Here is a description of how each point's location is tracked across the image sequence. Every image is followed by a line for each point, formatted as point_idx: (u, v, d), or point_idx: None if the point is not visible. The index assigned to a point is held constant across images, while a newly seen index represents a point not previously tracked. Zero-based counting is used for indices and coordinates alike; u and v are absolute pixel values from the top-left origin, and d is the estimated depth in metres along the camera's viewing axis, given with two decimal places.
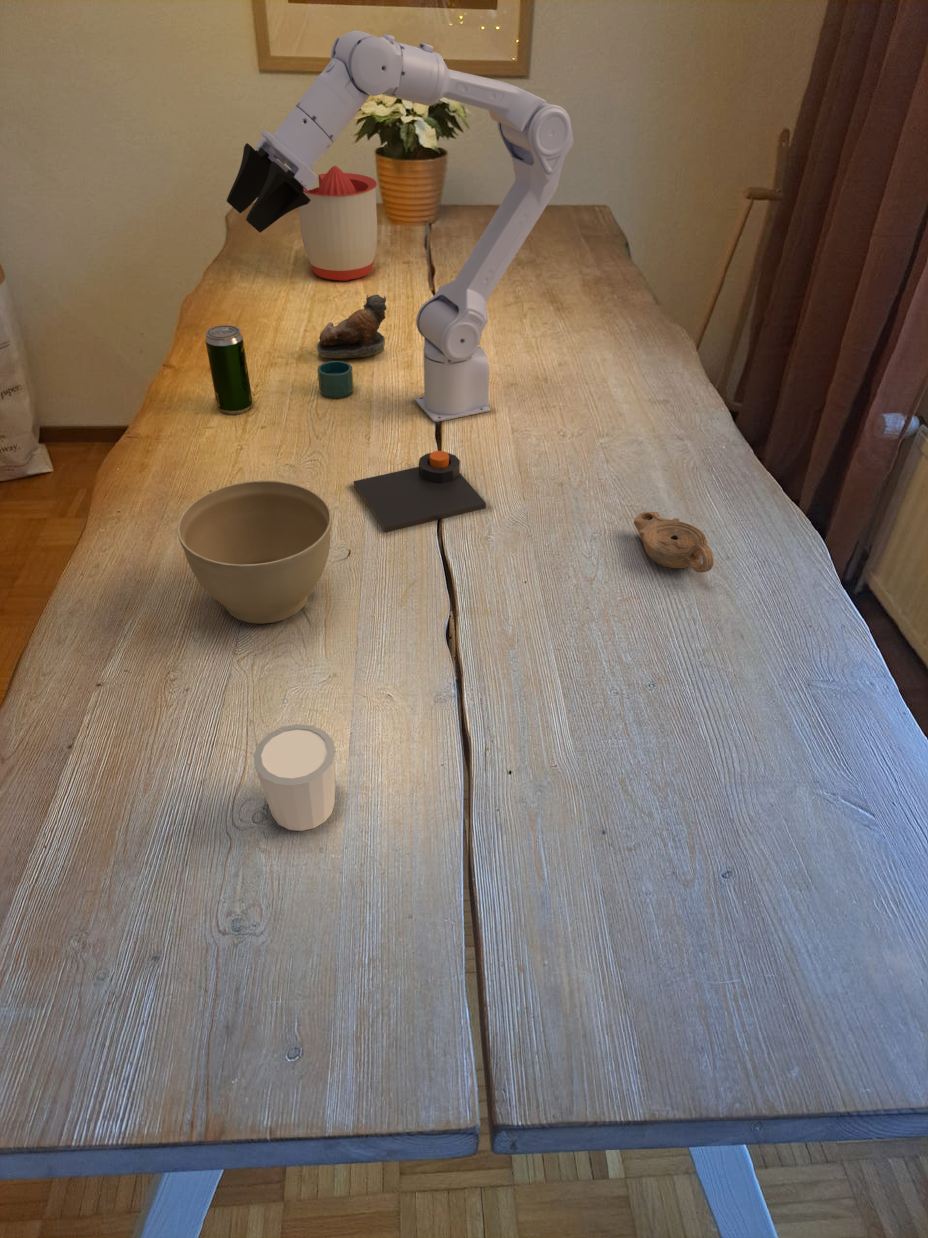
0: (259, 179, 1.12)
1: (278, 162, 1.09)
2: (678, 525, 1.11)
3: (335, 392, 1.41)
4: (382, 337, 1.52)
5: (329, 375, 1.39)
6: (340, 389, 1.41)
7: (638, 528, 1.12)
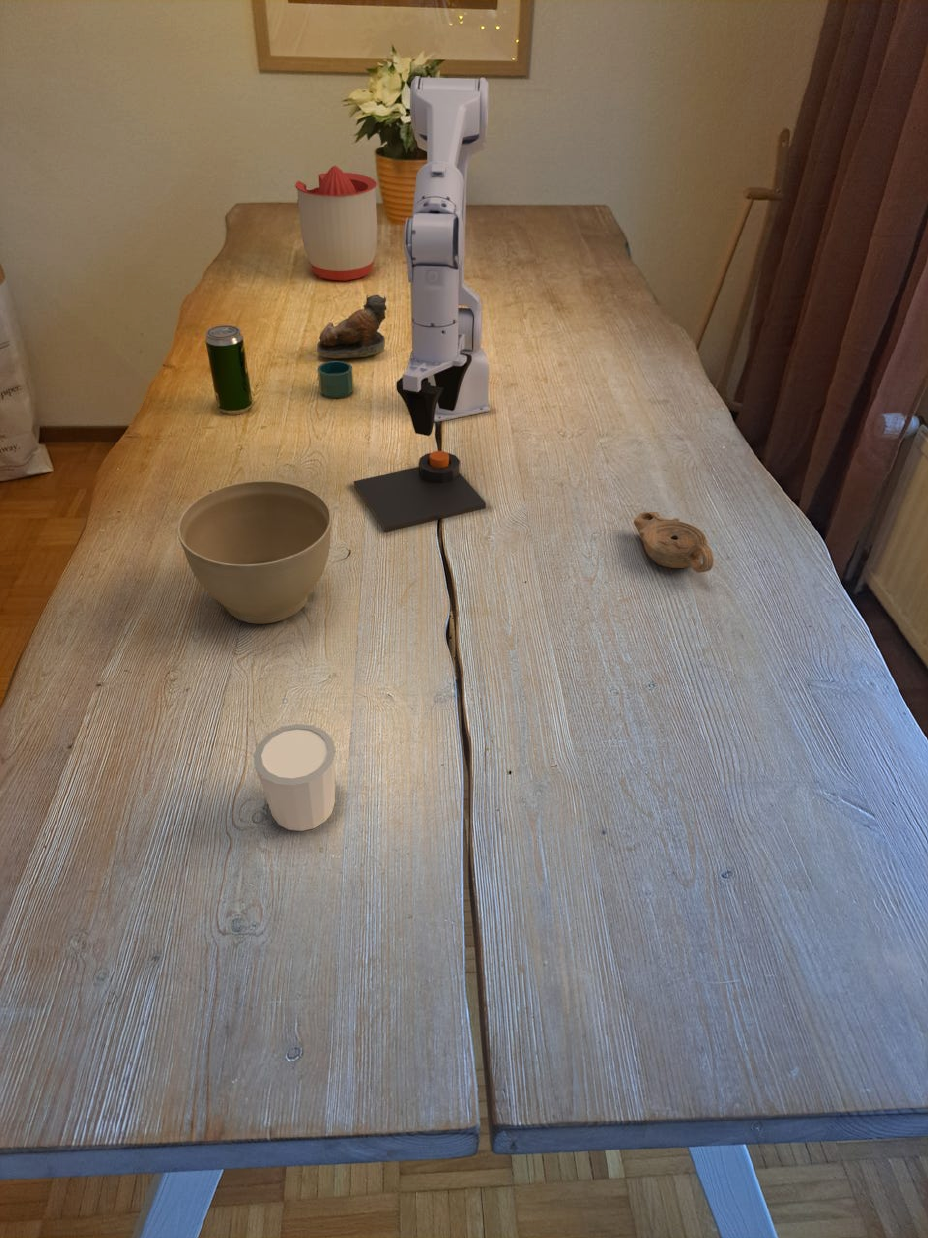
0: None
1: None
2: (678, 525, 1.11)
3: (335, 392, 1.41)
4: (382, 337, 1.52)
5: (329, 375, 1.39)
6: (340, 389, 1.41)
7: (638, 528, 1.12)
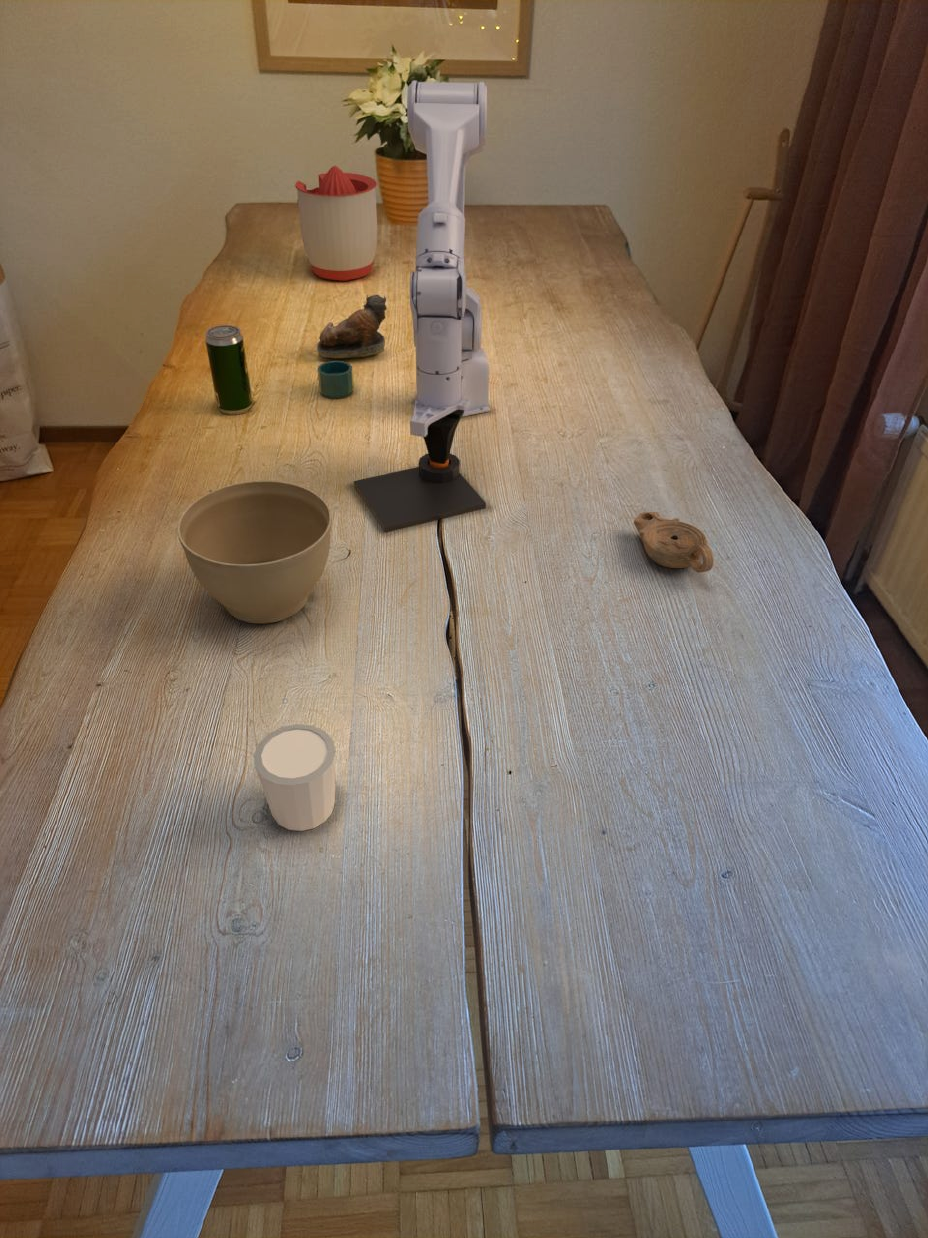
0: None
1: None
2: (678, 525, 1.11)
3: (335, 392, 1.41)
4: (382, 337, 1.52)
5: (329, 375, 1.39)
6: (340, 389, 1.41)
7: (638, 528, 1.12)
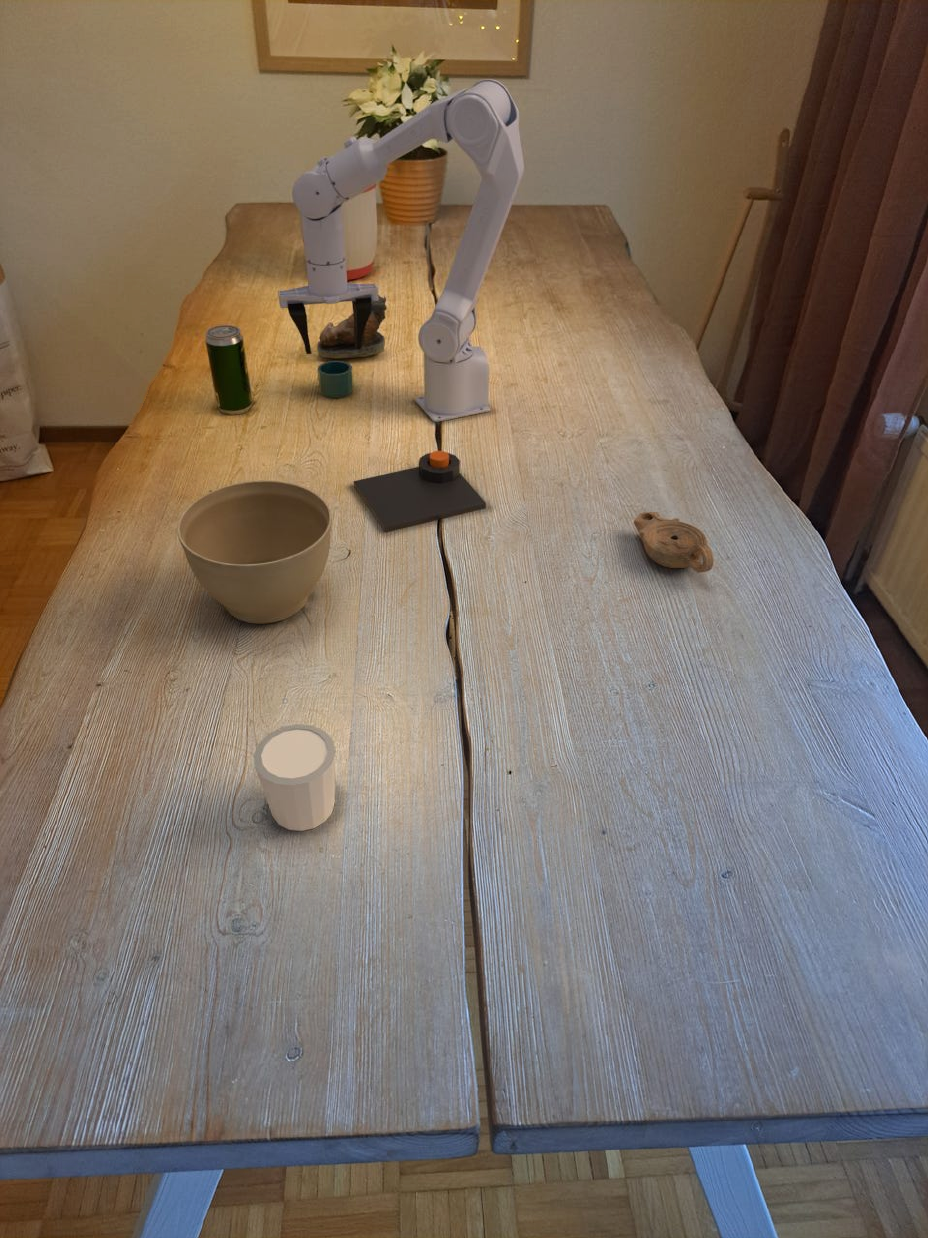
0: None
1: None
2: (678, 525, 1.11)
3: (335, 392, 1.41)
4: (382, 337, 1.52)
5: (329, 375, 1.39)
6: (340, 389, 1.41)
7: (638, 528, 1.12)
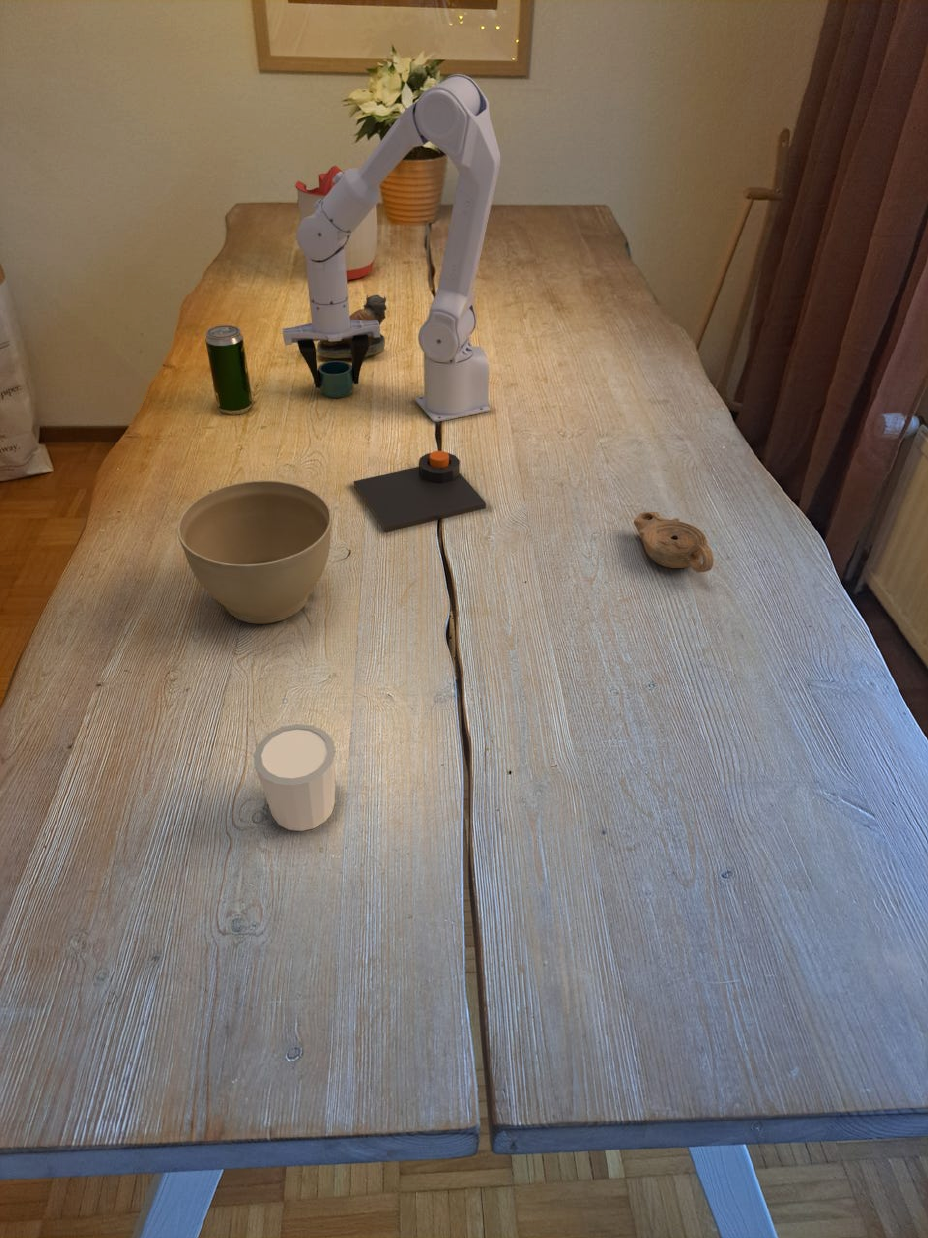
0: None
1: None
2: (678, 525, 1.11)
3: (335, 392, 1.41)
4: (382, 337, 1.52)
5: (329, 375, 1.39)
6: (340, 389, 1.41)
7: (638, 528, 1.12)
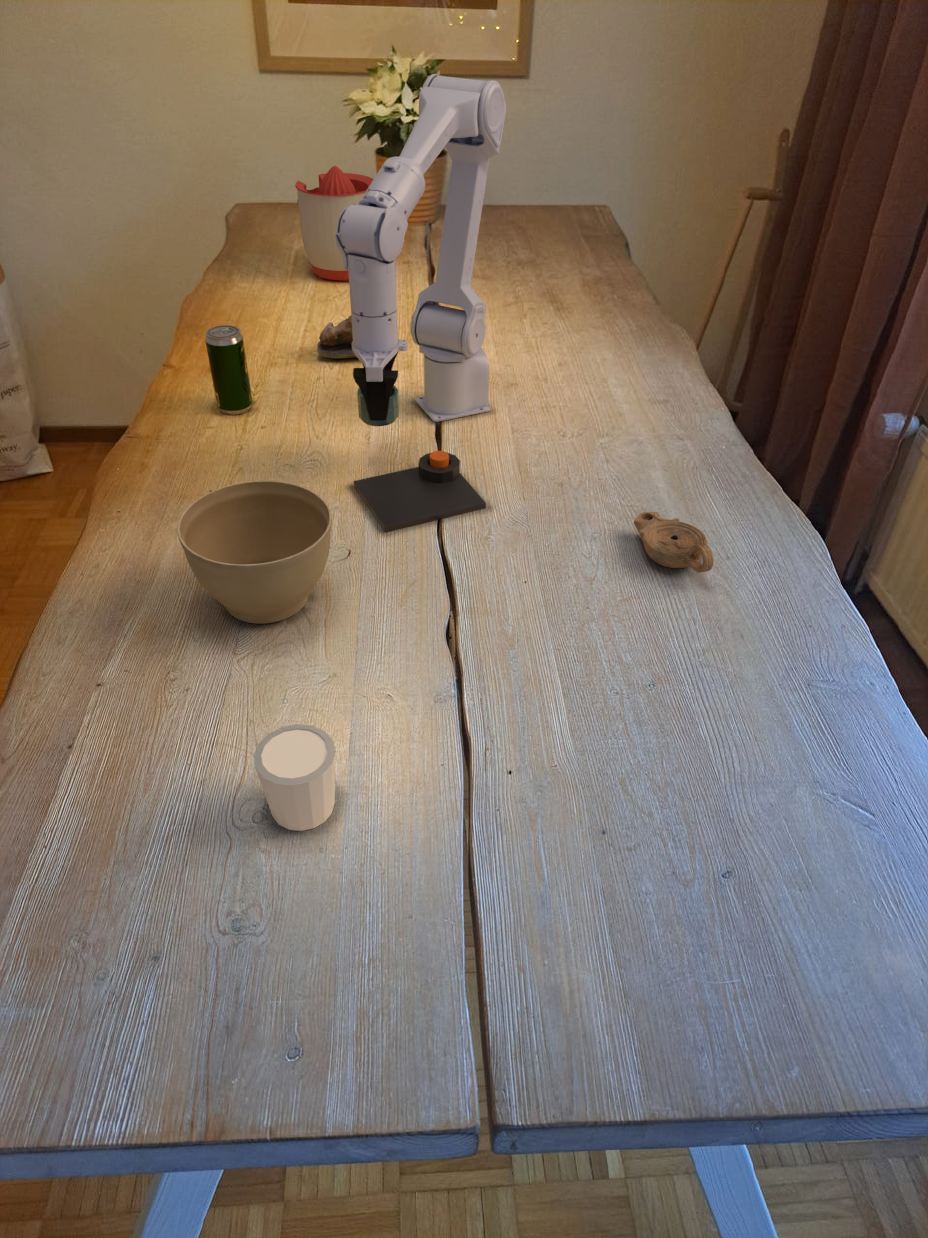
0: None
1: None
2: (678, 525, 1.11)
3: (398, 412, 1.21)
4: None
5: (395, 395, 1.19)
6: None
7: (638, 528, 1.12)
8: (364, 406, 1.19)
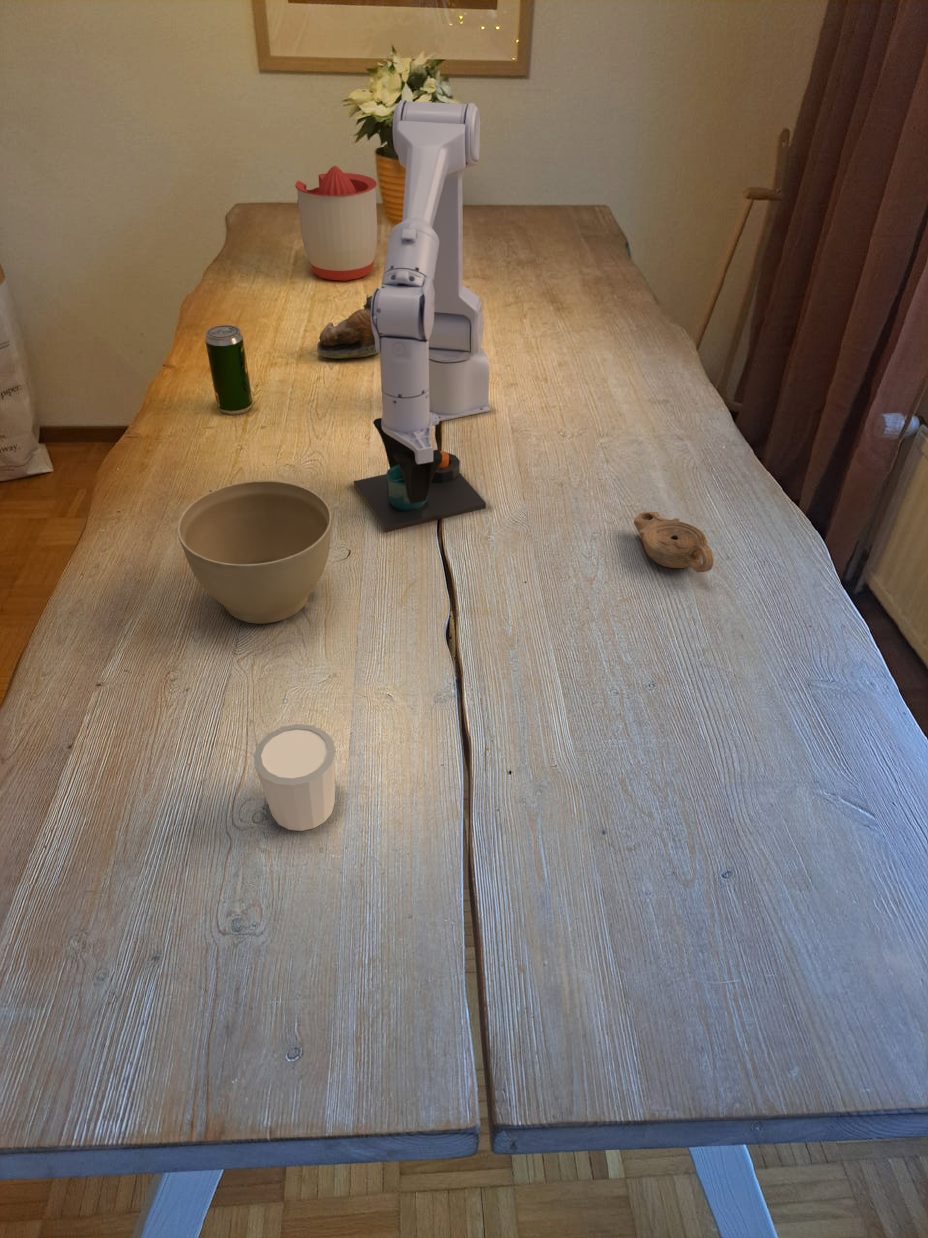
0: None
1: None
2: (678, 525, 1.11)
3: None
4: None
5: None
6: None
7: (638, 528, 1.12)
8: (399, 492, 1.14)
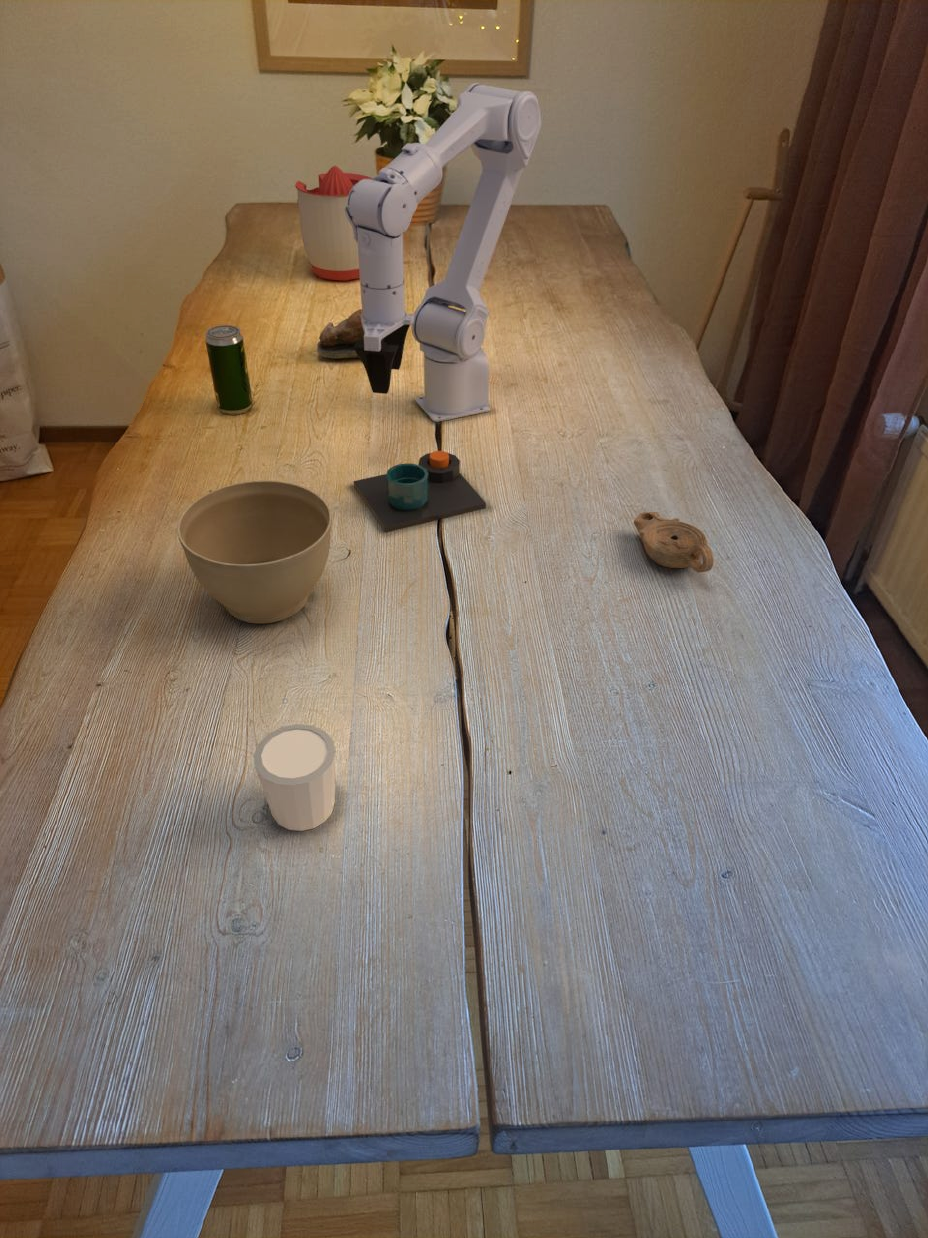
0: None
1: None
2: (678, 525, 1.11)
3: None
4: None
5: (427, 475, 1.15)
6: None
7: (638, 528, 1.12)
8: (399, 492, 1.14)
